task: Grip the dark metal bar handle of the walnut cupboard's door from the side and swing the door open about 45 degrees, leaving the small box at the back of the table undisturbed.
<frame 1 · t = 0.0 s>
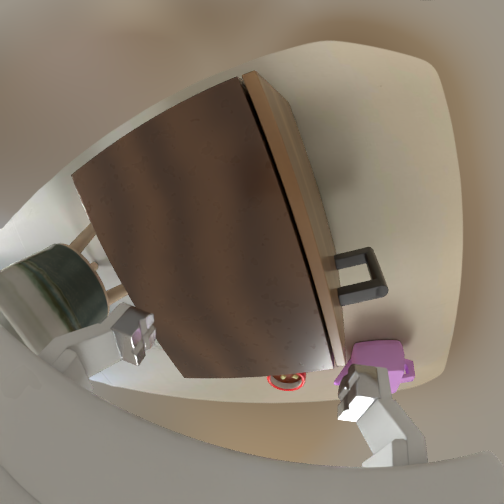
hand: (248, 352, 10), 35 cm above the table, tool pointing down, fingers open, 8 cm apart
cupboard door: (337, 197, 29), point 12 cm above the table, hinge at 0.0°
teapot: (372, 354, 53), on the table
mug: (289, 347, 57), on the table
cupboard: (255, 199, 44), on the table
planter: (117, 251, 56), on the table
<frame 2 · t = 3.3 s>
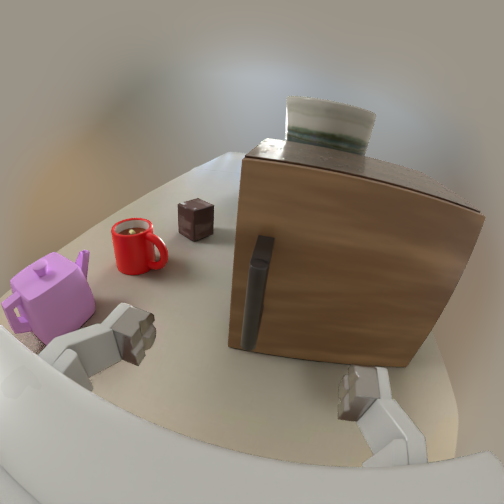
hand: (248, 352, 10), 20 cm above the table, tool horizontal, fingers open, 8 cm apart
cupboard door: (356, 307, 26), point 12 cm above the table, hinge at 0.0°
teapot: (61, 317, 34), on the table
mug: (144, 266, 49), on the table
cupboard: (321, 313, 43), on the table
planter: (310, 228, 72), on the table
box: (195, 234, 62), on the table
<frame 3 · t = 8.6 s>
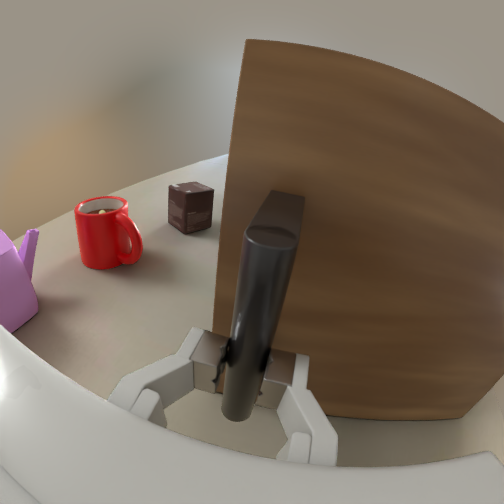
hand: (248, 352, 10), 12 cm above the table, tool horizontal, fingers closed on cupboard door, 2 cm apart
cupboard door: (444, 345, 11), point 12 cm above the table, hinge at 0.0°, touching gripper
teapot: (0, 314, 21), on the table
mug: (114, 260, 36), on the table
box: (189, 226, 49), on the table
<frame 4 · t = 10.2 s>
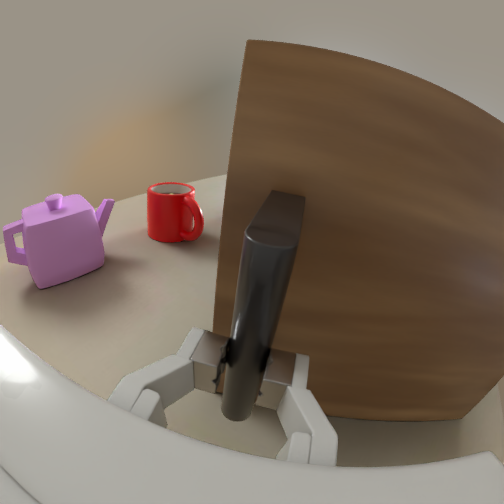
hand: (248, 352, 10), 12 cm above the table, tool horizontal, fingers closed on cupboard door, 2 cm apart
cupboard door: (444, 345, 11), point 12 cm above the table, hinge at 14.5°, touching gripper
teapot: (66, 264, 33), on the table
mug: (177, 237, 45), on the table
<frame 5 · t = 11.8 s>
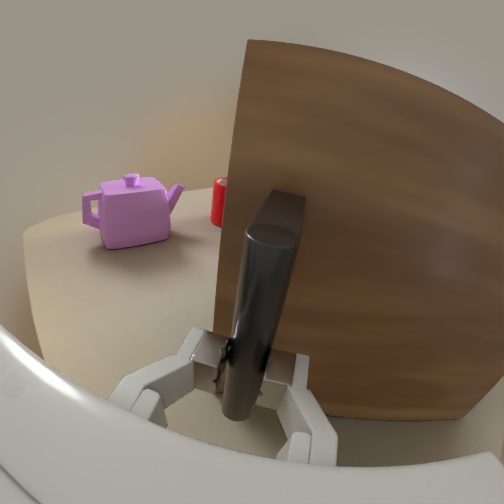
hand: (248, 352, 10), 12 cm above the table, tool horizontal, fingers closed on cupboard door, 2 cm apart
cupboard door: (444, 345, 11), point 12 cm above the table, hinge at 29.3°, touching gripper
teapot: (134, 234, 43), on the table
mug: (236, 225, 52), on the table
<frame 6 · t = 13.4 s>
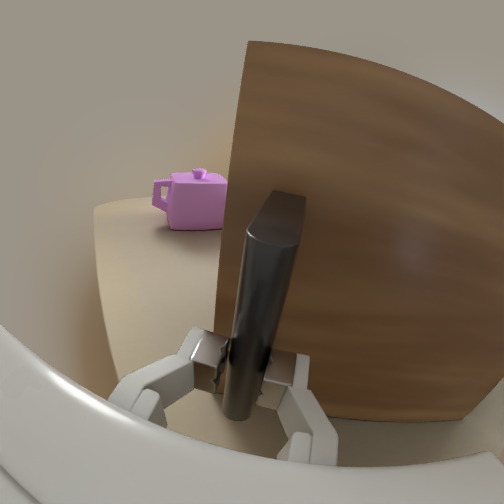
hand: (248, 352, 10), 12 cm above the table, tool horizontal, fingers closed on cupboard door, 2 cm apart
cupboard door: (445, 345, 11), point 12 cm above the table, hinge at 43.6°, touching gripper
teapot: (197, 221, 53), on the table
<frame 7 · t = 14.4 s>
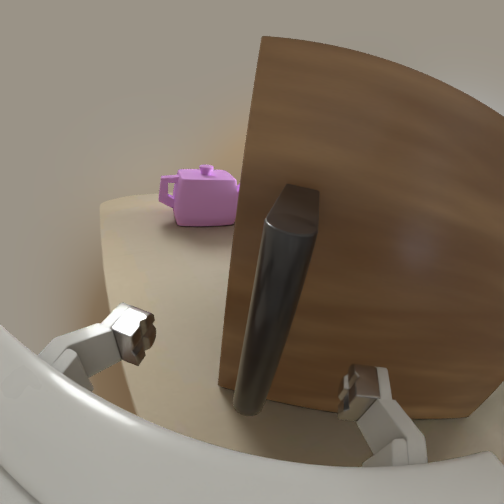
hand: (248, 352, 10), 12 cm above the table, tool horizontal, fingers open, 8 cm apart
cupboard door: (454, 339, 11), point 12 cm above the table, hinge at 43.5°
teapot: (204, 217, 53), on the table
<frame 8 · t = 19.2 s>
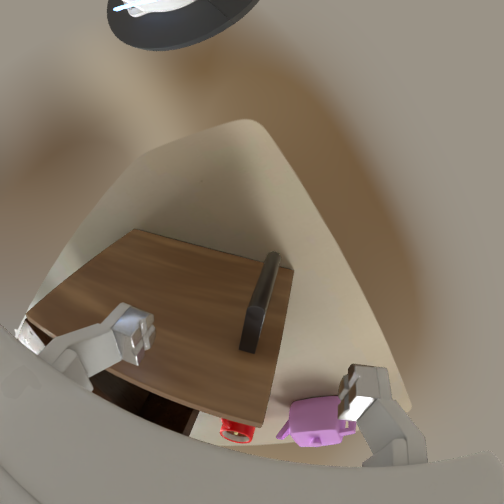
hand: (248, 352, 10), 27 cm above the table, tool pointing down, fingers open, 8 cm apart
cupboard door: (170, 275, 29), point 12 cm above the table, hinge at 43.5°
teapot: (317, 407, 53), on the table
mug: (239, 407, 59), on the table
cupboard: (152, 309, 49), on the table
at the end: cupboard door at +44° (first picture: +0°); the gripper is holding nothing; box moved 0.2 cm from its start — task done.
